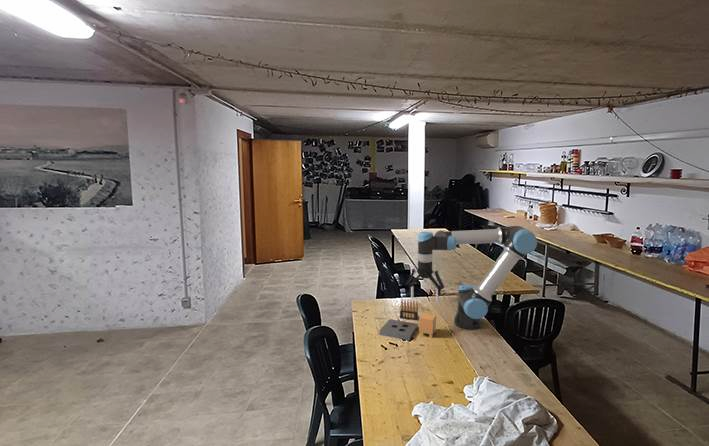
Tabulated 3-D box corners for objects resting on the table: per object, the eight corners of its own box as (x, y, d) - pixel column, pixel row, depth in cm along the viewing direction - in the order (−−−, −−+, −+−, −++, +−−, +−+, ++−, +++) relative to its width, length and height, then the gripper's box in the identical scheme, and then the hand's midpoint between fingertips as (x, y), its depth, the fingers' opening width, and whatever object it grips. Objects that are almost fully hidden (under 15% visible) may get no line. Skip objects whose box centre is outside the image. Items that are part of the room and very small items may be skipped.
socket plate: (418, 327, 221) (418, 323, 220) (409, 340, 205) (409, 336, 205) (389, 322, 228) (389, 319, 227) (379, 334, 212) (379, 330, 212)
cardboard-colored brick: (435, 332, 215) (436, 314, 214) (432, 338, 208) (432, 320, 207) (422, 329, 218) (423, 312, 217) (418, 335, 211) (419, 317, 209)
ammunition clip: (418, 319, 233) (418, 300, 231) (417, 320, 231) (418, 301, 229) (400, 317, 236) (400, 297, 234) (399, 318, 235) (400, 299, 233)
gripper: (450, 261, 207) (449, 299, 210) (404, 257, 217) (404, 294, 220) (447, 264, 200) (446, 304, 204) (400, 260, 210) (400, 298, 213)
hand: (424, 299), depth 212 cm, fingers open, 13 cm apart
